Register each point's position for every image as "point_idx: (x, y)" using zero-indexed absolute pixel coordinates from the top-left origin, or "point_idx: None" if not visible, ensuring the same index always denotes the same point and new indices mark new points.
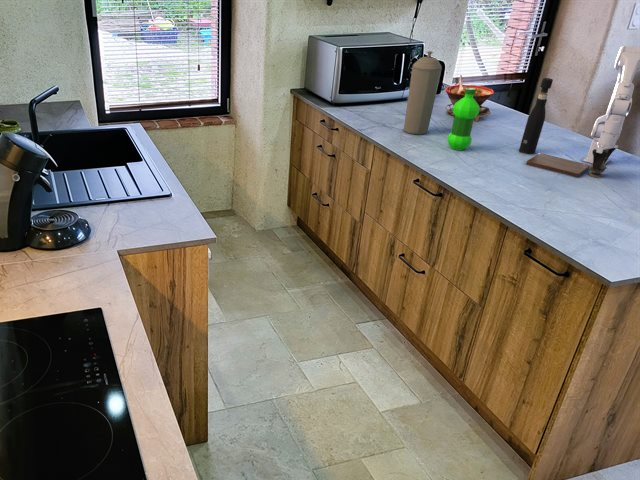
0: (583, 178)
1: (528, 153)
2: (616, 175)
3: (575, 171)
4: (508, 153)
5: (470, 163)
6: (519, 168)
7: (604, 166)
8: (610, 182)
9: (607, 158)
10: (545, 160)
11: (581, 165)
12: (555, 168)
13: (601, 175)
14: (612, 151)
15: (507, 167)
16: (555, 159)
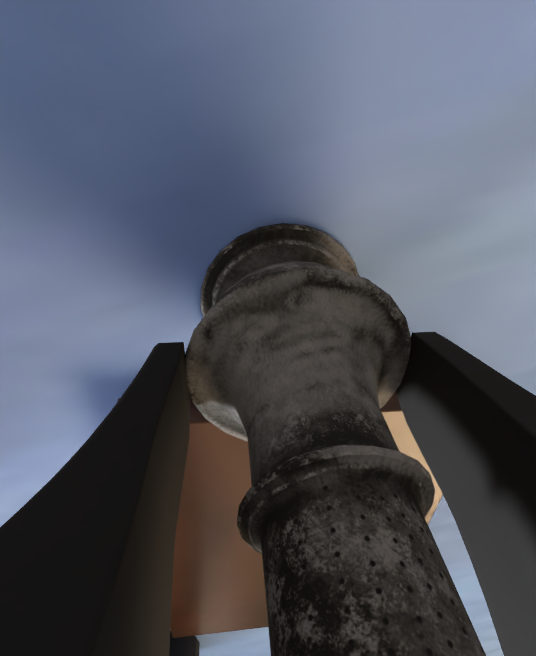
0: (462, 340)
1: (190, 638)
2: (34, 77)
3: None
4: (260, 653)
5: (496, 643)
6: (463, 578)
7: (305, 316)
8: (450, 60)
9: (159, 424)
10: None
11: (206, 464)
12: (426, 521)
13: (287, 244)
14: (114, 610)
15: (476, 597)
16: (227, 579)
